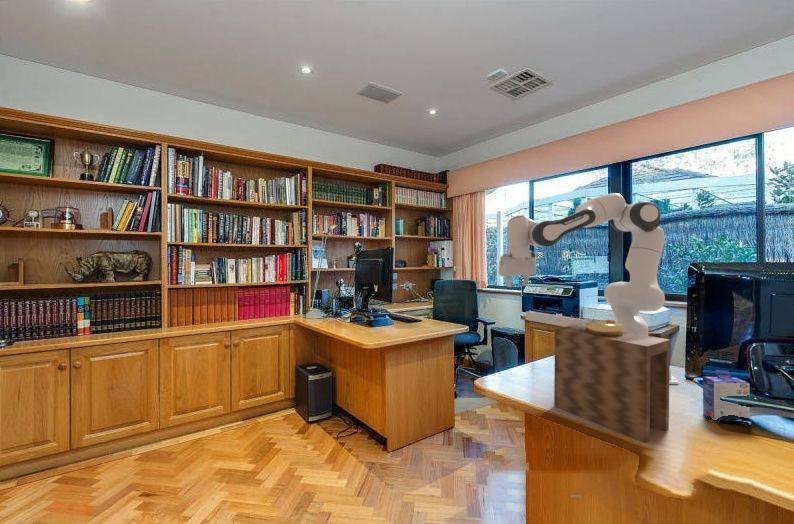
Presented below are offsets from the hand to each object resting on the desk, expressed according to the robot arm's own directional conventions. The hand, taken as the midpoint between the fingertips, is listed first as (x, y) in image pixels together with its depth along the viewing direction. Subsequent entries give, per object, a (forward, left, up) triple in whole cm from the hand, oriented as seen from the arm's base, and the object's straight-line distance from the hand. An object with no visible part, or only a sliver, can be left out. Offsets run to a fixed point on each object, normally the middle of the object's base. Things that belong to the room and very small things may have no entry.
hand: (517, 286), depth 149 cm
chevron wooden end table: (-23, +37, -37) cm, 57 cm away
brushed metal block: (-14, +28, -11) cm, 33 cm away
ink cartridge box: (-58, +30, -37) cm, 75 cm away
